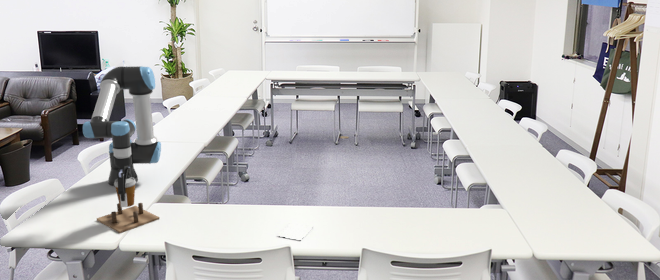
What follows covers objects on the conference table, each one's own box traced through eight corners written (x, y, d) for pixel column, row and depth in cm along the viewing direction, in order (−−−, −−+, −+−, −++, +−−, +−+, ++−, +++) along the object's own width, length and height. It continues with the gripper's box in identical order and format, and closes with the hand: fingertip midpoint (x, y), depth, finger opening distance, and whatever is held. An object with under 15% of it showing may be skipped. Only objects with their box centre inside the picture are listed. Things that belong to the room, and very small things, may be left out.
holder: (135, 207, 268) (134, 196, 266) (159, 219, 256) (158, 207, 254) (96, 220, 253) (95, 208, 251) (120, 233, 241) (118, 220, 239)
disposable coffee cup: (129, 198, 259) (127, 175, 255) (142, 203, 253) (140, 179, 250) (111, 205, 251) (109, 180, 248) (124, 210, 246) (121, 185, 243)
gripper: (120, 149, 255) (124, 194, 262) (107, 163, 235) (111, 212, 242) (136, 149, 256) (140, 194, 262) (125, 163, 236) (129, 212, 243)
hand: (126, 202), depth 252 cm, fingers closed on disposable coffee cup, 8 cm apart
